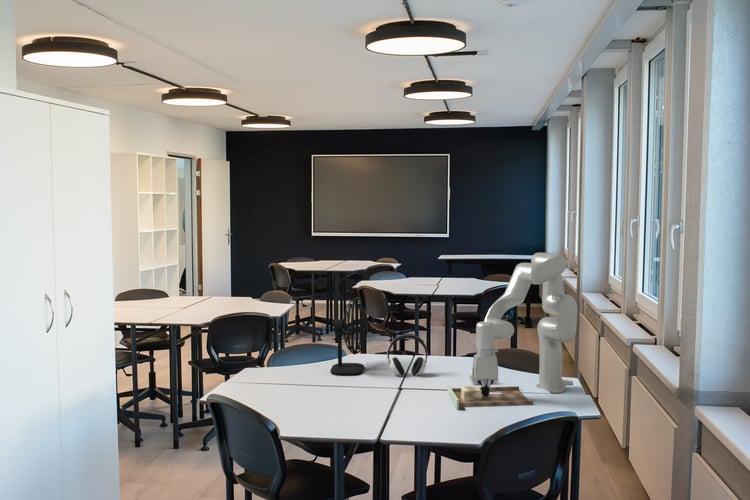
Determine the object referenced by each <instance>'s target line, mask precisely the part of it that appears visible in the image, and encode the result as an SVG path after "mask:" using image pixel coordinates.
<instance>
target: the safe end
mask: <svg viewBox="0 0 750 500" xmlns="http://www.w3.org/2000/svg"><path fill="white" fill-rule="evenodd" d="M451 388H452V387H451V386H450V384H449V385H447V394H446V395H447V396H448V398H449V400H450V401H451V403H452V404H453V406H454V408H455V409H456V410H457V411H460V410H459V399H458V398H457V396H456V395H455V393H454V392H453V390H452V389H451Z"/></svg>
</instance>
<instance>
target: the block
mask: <svg viewBox="0 0 750 500" xmlns="http://www.w3.org/2000/svg"><path fill="white" fill-rule="evenodd" d="M460 388H461V397H462V398H463V400H464V401H477V400H481V390H480V388H479V385H473V386H472V385H470V386H467V385H466V386H460Z"/></svg>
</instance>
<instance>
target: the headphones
mask: <svg viewBox="0 0 750 500" xmlns="http://www.w3.org/2000/svg"><path fill="white" fill-rule="evenodd" d="M403 339H411V340H412V339H413V340H414V341H417V342H418V343H419V344H421V345H422V347H423V348H424V351H425V352H424V353H425V358H424V357H421V356H419V357H418V356H417V358H416V359H415V361H414V362H413V365H412V367H411V372H410V373H411V374H412V375H413V376H419V375H423V373H424V372H425V369H426V366H427V361H428V356H429V353H428V348H427V345H426V343H425V341H424V340H423V339H422V338H421V337H420V336H418V335H417V334H416V335H415V334H413V333H402V334H400V335H397V336H395V337H394V338H393V339H392V340H391V341H390V343H389V344H388V347H387V350H386V358H387V362H388V366H389V367H390V370H391V372H392V373H393V374H394V375H395V376H399V377H401V376H403V375H405V369H404V367H403V365H402V364H401V362H400V360H399V359H398V358H397V357H396V356H395V357H392V358H391V359H390V352H391V349H392V347H393V346H394V345H395V344H396V343H397V342H398V341H400V340H403Z"/></svg>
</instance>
